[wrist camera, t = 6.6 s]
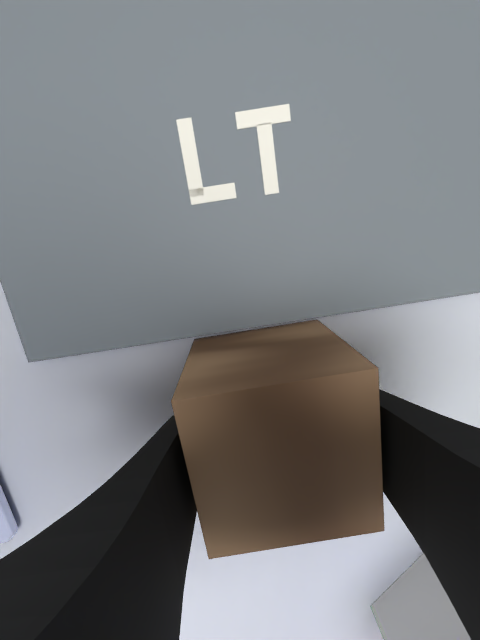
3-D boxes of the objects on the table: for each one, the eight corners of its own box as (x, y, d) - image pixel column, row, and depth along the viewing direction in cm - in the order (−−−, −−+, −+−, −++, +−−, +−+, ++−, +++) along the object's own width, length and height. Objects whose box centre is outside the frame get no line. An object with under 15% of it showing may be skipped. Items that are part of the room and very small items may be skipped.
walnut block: (216, 441, 13) (209, 558, 8) (194, 337, 12) (171, 401, 7) (325, 424, 13) (384, 531, 8) (315, 318, 12) (378, 368, 7)
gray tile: (33, 359, 11) (27, 362, 11) (-92, -9, 9) (-105, -19, 8) (478, 290, 11) (486, 291, 11) (496, -102, 9) (507, -116, 8)
